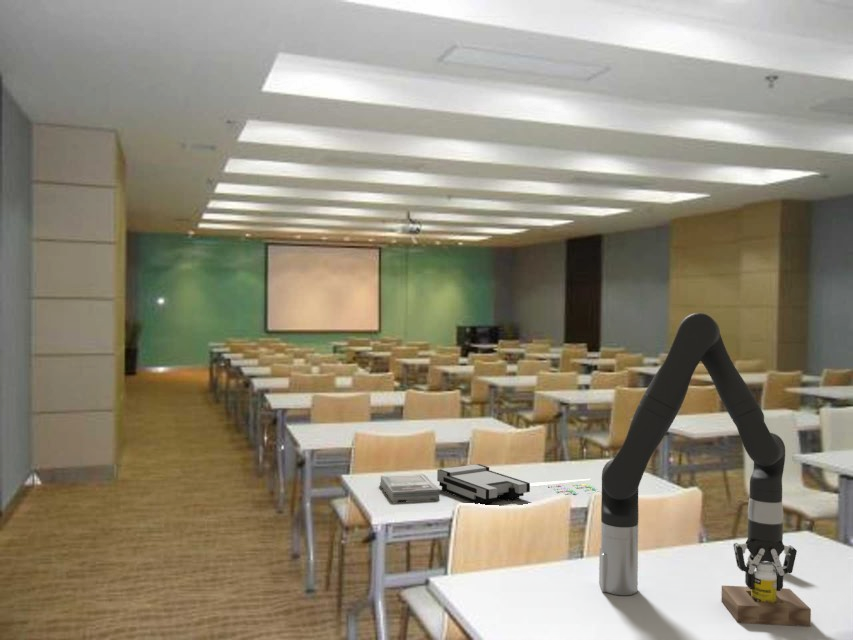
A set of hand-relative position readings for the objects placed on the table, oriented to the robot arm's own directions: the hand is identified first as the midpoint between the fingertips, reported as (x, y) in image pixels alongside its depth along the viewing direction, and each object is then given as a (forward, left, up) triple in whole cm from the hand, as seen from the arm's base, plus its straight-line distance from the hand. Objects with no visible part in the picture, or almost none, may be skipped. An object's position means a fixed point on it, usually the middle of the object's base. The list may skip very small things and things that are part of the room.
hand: (764, 588), depth 169 cm
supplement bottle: (0, 0, -4) cm, 4 cm away
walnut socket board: (0, 0, -6) cm, 6 cm away
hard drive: (-98, +101, -7) cm, 141 cm away
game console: (-69, +101, -6) cm, 123 cm away
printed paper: (-32, +114, -7) cm, 119 cm away
